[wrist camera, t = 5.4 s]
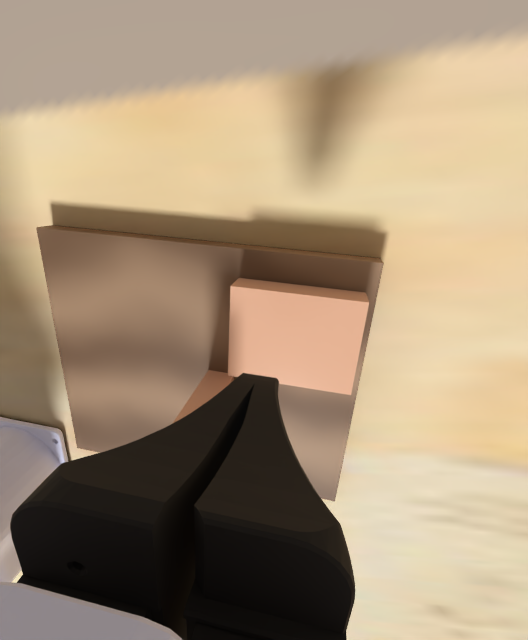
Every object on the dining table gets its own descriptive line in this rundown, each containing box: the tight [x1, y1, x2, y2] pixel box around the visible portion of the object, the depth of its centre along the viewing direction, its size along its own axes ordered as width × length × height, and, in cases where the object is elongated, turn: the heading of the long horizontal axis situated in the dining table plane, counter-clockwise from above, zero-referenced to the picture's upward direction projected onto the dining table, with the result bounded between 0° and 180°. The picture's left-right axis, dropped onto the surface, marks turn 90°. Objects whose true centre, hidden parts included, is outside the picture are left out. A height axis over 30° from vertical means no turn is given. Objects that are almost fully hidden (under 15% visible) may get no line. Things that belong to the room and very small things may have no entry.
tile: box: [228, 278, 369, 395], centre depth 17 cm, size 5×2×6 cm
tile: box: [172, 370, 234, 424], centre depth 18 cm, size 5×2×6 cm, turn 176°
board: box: [37, 225, 383, 501], centre depth 21 cm, size 16×19×1 cm
